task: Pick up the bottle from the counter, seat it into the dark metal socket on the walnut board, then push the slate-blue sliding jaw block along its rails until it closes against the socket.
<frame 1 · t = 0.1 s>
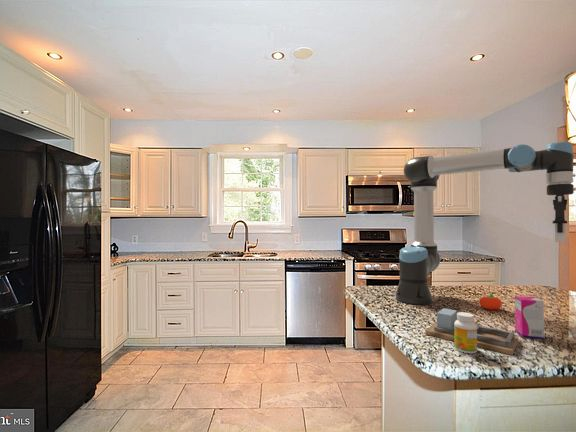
hand: (560, 241, 114), 28 cm above the countertop, fingers open, 13 cm apart
jaw block: (447, 319, 97), point 4 cm above the countertop, slide at 0.0 cm
supplement bottle: (465, 350, 84), on the countertop
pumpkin: (490, 309, 123), on the countertop
supplement box: (529, 335, 95), on the countertop
seat board: (470, 337, 93), on the countertop
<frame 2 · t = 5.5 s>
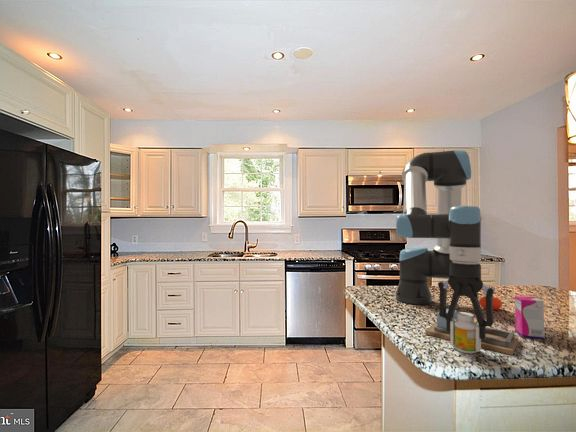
hand: (465, 346, 84), 1 cm above the countertop, fingers closed on supplement bottle, 5 cm apart
supplement bottle: (465, 350, 84), on the countertop, touching gripper
everything else where it was.
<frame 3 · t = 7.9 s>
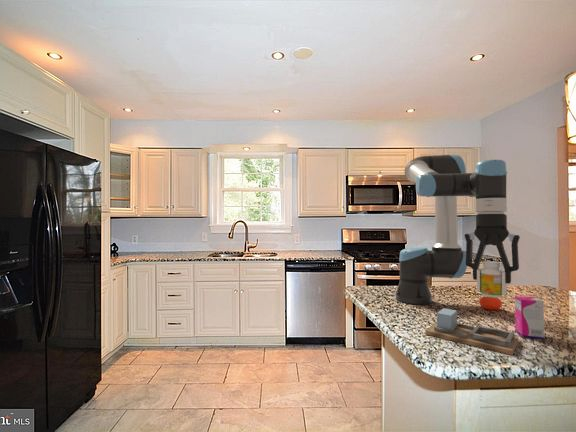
hand: (491, 292, 89), 14 cm above the countertop, fingers closed on supplement bottle, 5 cm apart
supplement bottle: (491, 296, 89), point 13 cm above the countertop, touching gripper
everything else where it was.
when the fingers open (3 cm above the countertop, at t = 10.2 s): supplement bottle stays where it is, resting on seat board.
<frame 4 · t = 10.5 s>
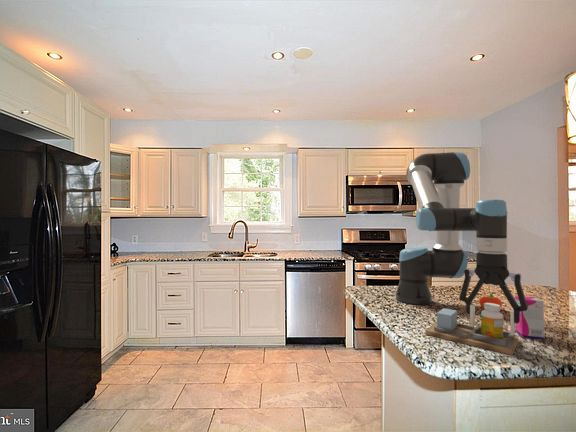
hand: (492, 329, 89), 4 cm above the countertop, fingers open, 9 cm apart
supplement bottle: (491, 338, 89), point 1 cm above the countertop, touching seat board
everything else where it was.
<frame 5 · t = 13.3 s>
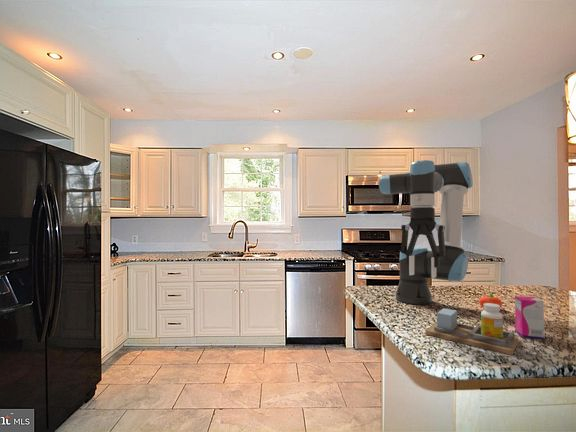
hand: (422, 275, 103), 17 cm above the countertop, fingers open, 6 cm apart
nothing on the countertop moved.
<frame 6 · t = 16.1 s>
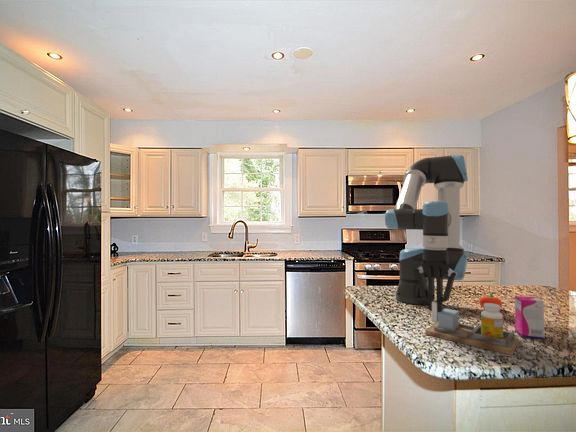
hand: (435, 321, 99), 3 cm above the countertop, fingers closed
jaw block: (448, 319, 97), point 4 cm above the countertop, slide at 0.5 cm, touching gripper
everything else where it was.
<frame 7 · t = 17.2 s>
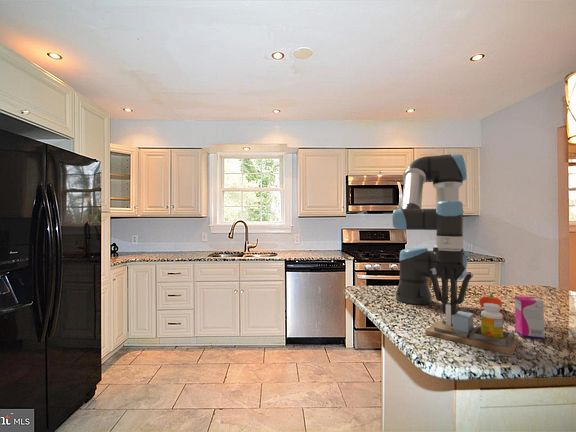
hand: (449, 324, 97), 3 cm above the countertop, fingers closed
jaw block: (463, 322, 94), point 4 cm above the countertop, slide at 4.6 cm, touching gripper
everything else where it was.
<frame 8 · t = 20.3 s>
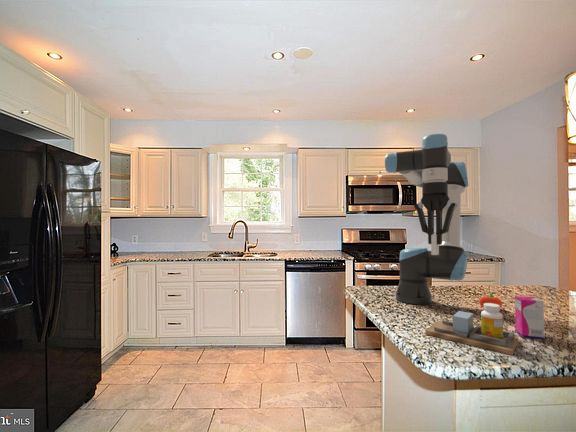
hand: (435, 254, 100), 24 cm above the countertop, fingers closed
jaw block: (463, 322, 94), point 4 cm above the countertop, slide at 4.5 cm
everything else where it was.
at the end: supplement bottle 0.0 cm from the target spot on the seat board, point 1.0 cm above the seat board's base; supplement bottle tilted 0°; jaw block slide at 4.5 cm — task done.
